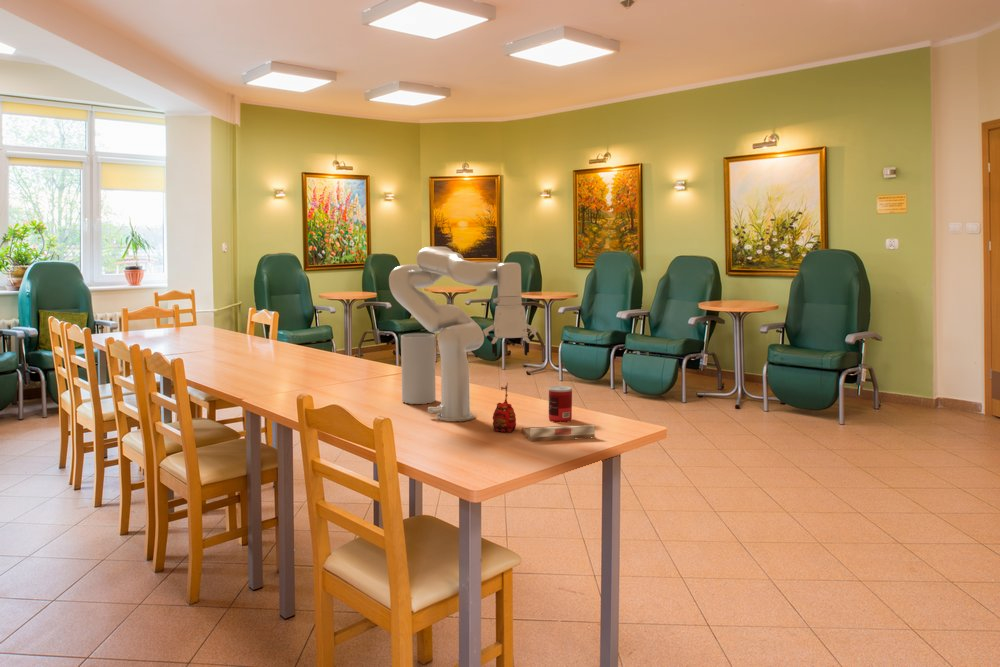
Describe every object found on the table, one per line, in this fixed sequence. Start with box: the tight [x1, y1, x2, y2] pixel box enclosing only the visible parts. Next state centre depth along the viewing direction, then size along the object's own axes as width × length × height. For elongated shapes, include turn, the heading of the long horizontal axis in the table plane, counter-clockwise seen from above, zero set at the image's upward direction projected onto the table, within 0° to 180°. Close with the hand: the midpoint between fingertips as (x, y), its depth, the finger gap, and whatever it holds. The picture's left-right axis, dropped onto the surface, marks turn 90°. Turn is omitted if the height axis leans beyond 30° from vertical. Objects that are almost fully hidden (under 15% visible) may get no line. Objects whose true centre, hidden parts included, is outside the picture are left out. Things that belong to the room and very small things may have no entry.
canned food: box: [548, 385, 573, 423], centre depth 251 cm, size 8×8×11 cm
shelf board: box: [521, 424, 596, 442], centre depth 232 cm, size 20×12×4 cm, turn 101°
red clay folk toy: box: [492, 382, 517, 433], centre depth 237 cm, size 8×7×15 cm
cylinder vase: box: [400, 332, 437, 405], centre depth 279 cm, size 12×12×25 cm
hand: (510, 355), depth 238 cm, fingers open, 9 cm apart
